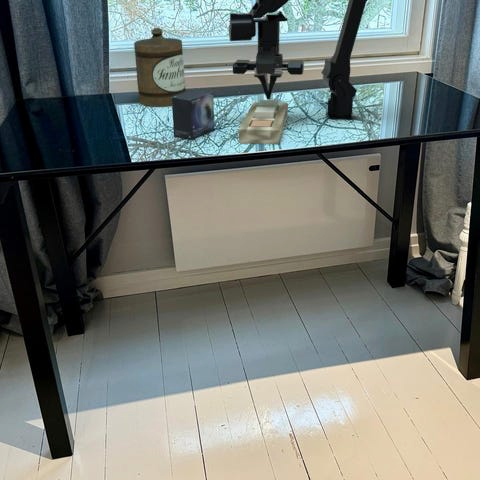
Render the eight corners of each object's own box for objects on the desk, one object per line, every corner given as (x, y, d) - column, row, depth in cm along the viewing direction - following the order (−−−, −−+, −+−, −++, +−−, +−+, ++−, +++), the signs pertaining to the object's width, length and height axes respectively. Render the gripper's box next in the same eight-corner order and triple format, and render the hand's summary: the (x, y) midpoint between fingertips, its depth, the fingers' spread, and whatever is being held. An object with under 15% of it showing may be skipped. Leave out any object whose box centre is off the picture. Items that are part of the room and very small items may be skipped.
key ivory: (275, 116, 151) (275, 107, 150) (273, 121, 147) (273, 112, 146) (257, 116, 152) (256, 106, 151) (254, 121, 148) (254, 111, 147)
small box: (192, 140, 143) (190, 99, 138) (172, 136, 146) (169, 96, 141) (216, 129, 151) (214, 90, 146) (196, 126, 154) (194, 87, 149)
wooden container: (166, 109, 170) (160, 33, 159) (129, 103, 177) (121, 30, 166) (195, 98, 181) (191, 26, 170) (159, 93, 188) (153, 23, 177)
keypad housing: (287, 115, 161) (288, 102, 160) (278, 144, 139) (278, 130, 137) (253, 114, 163) (253, 102, 161) (238, 142, 140) (238, 129, 139)
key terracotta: (272, 130, 146) (272, 120, 144) (270, 136, 141) (270, 126, 140) (253, 129, 146) (253, 120, 145) (250, 135, 142) (250, 125, 141)
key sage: (278, 109, 158) (278, 100, 157) (276, 113, 154) (276, 104, 152) (260, 108, 159) (260, 99, 158) (258, 113, 154) (258, 104, 153)
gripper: (228, 44, 142) (230, 106, 149) (302, 45, 139) (300, 107, 146) (235, 37, 151) (237, 95, 159) (304, 37, 148) (303, 96, 156)
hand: (268, 99), depth 155 cm, fingers closed
